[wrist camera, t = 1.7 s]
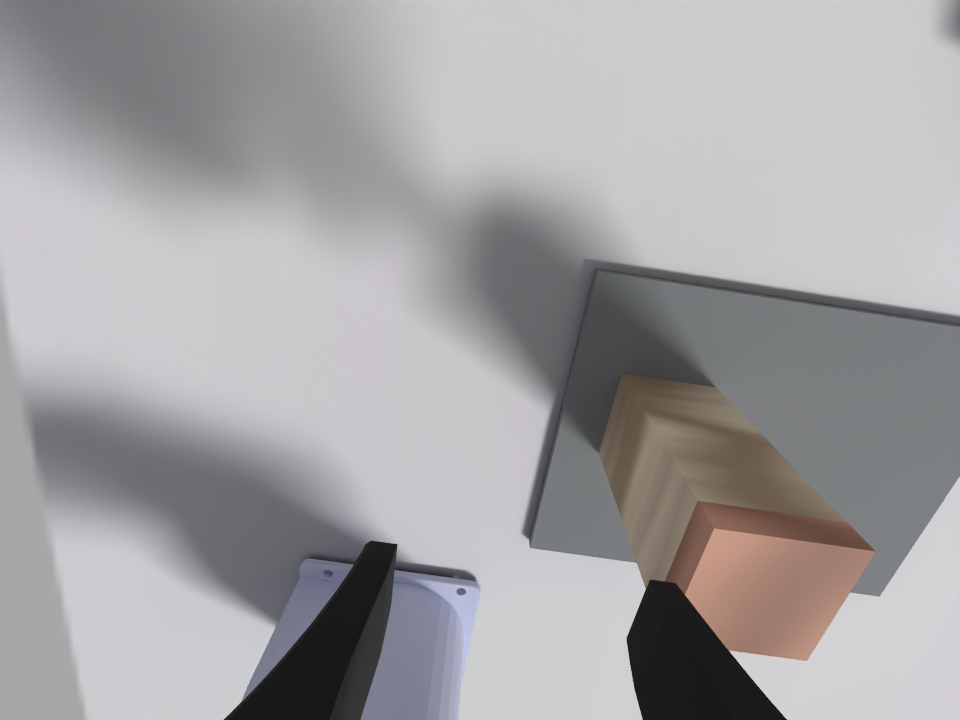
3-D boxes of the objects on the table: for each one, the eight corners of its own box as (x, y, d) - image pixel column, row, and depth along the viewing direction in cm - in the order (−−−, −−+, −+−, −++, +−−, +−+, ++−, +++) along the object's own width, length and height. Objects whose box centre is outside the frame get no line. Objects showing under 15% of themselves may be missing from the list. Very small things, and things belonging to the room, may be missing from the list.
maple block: (598, 453, 21) (664, 641, 13) (622, 373, 20) (714, 528, 11) (685, 465, 21) (806, 661, 13) (716, 387, 20) (875, 551, 11)
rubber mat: (529, 540, 24) (529, 547, 23) (595, 268, 18) (598, 271, 18) (872, 588, 24) (879, 596, 24) (1036, 336, 19) (1049, 341, 18)
